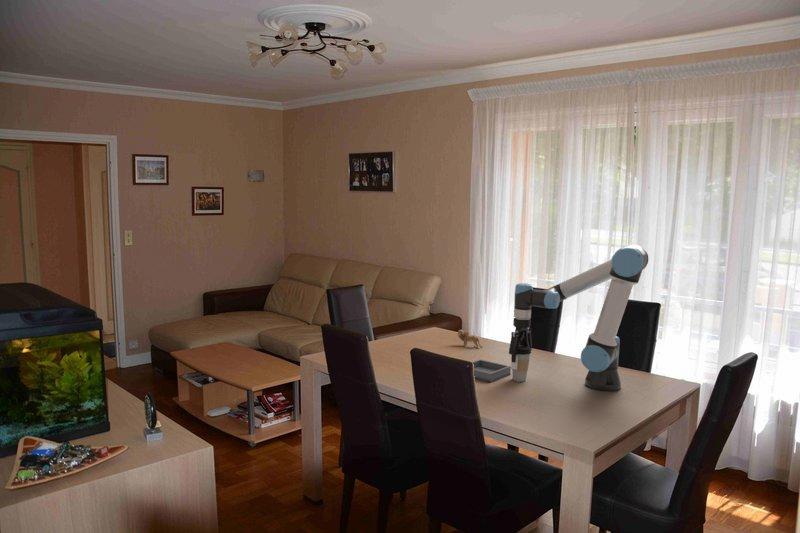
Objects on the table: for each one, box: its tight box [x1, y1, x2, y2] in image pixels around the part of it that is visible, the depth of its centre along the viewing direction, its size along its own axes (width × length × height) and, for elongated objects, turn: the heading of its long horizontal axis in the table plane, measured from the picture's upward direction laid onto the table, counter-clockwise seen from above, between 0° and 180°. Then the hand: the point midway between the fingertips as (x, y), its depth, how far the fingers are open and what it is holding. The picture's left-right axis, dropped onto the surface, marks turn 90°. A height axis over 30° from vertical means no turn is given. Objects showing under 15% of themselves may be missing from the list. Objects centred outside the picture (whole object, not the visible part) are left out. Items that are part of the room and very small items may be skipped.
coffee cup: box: [510, 344, 532, 383], centre depth 273 cm, size 9×9×15 cm
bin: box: [472, 359, 512, 383], centre depth 280 cm, size 17×17×4 cm
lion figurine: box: [457, 329, 483, 350], centre depth 332 cm, size 15×5×9 cm, turn 64°
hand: (519, 366), depth 273 cm, fingers closed on coffee cup, 9 cm apart
